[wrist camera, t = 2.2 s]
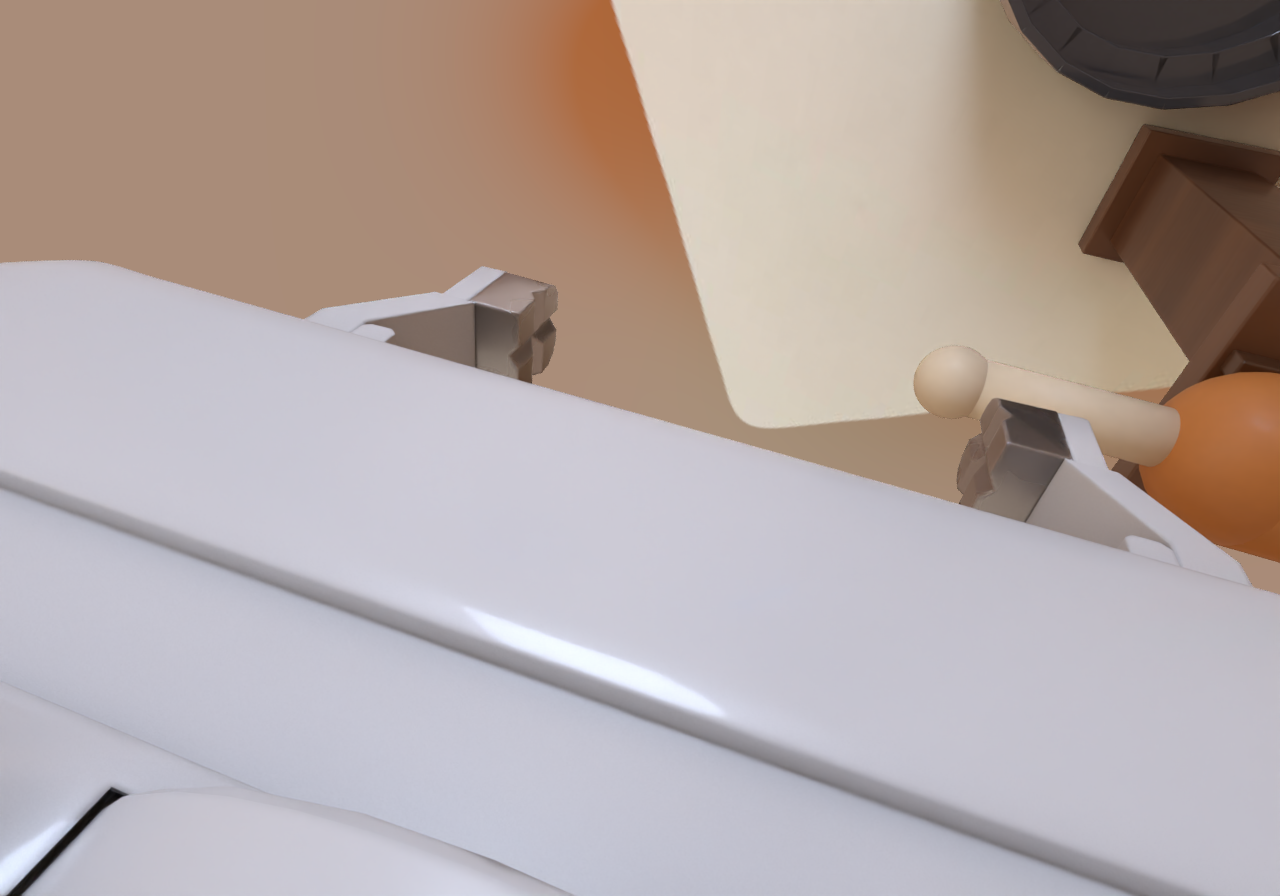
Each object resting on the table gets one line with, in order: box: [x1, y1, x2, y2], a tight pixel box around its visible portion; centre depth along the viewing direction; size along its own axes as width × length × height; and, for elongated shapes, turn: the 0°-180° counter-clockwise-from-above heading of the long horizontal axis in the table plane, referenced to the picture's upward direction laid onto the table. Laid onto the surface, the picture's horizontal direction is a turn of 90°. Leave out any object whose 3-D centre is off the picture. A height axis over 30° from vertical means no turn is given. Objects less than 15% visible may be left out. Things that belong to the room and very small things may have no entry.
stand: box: [1078, 124, 1280, 494], centre depth 30 cm, size 10×8×27 cm
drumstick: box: [914, 345, 1280, 563], centre depth 19 cm, size 15×5×5 cm, turn 82°
